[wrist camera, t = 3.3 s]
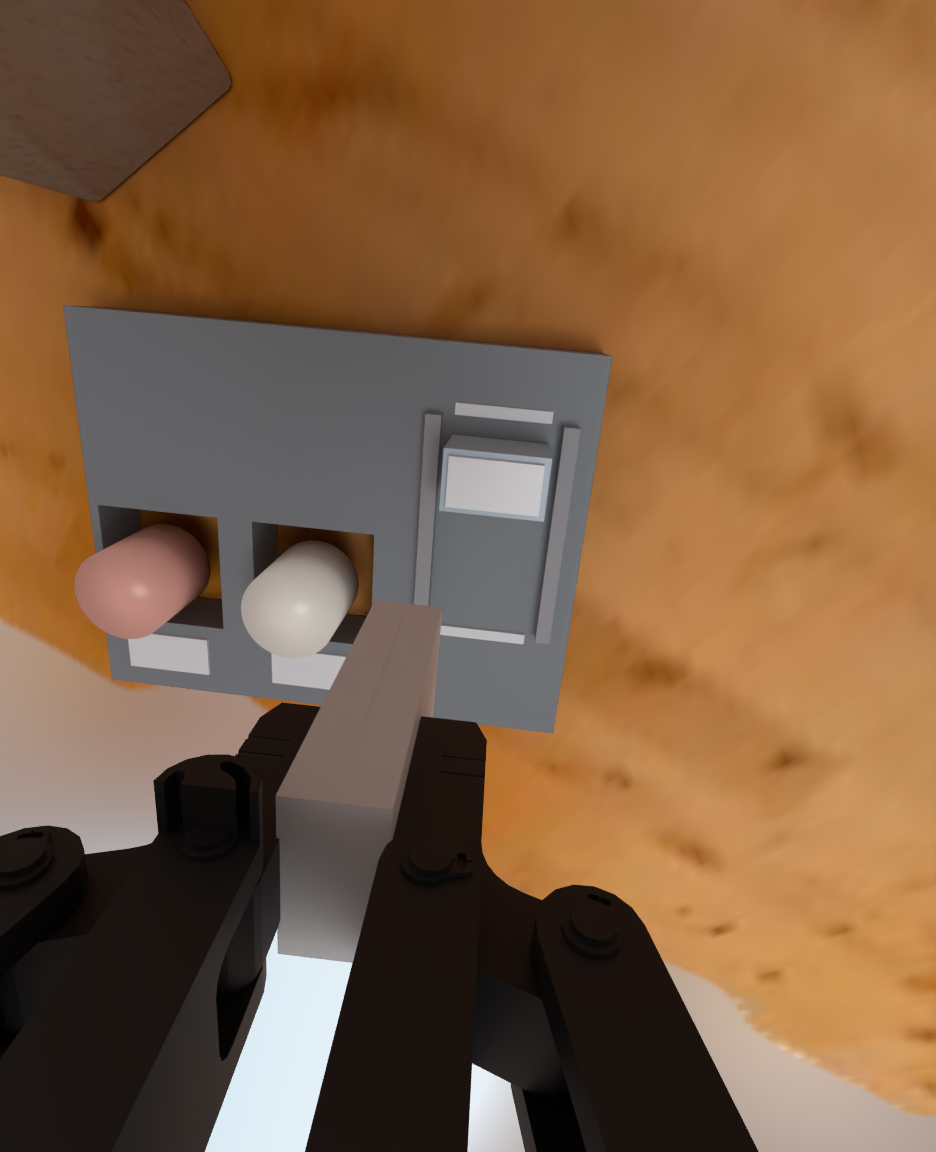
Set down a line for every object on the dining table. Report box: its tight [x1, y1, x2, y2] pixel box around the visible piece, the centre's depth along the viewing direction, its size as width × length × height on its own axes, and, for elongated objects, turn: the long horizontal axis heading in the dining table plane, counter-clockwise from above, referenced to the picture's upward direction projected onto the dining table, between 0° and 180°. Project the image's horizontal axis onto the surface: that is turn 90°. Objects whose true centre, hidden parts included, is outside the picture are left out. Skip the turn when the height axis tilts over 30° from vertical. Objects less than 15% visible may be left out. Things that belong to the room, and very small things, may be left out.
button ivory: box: [241, 540, 359, 658], centre depth 36 cm, size 5×5×5 cm
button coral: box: [75, 524, 210, 639], centre depth 37 cm, size 5×5×5 cm
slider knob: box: [439, 435, 552, 522], centre depth 32 cm, size 3×5×4 cm, turn 85°
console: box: [63, 305, 612, 733], centre depth 38 cm, size 22×28×5 cm
